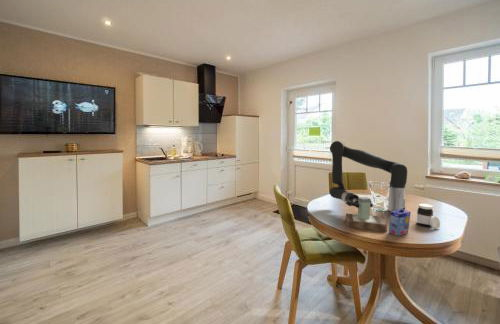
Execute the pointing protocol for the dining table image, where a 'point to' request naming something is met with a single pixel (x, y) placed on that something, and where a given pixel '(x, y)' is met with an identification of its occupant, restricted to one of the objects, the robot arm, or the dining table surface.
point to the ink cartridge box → (399, 222)
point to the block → (364, 208)
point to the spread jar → (427, 216)
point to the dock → (366, 223)
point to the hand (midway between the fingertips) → (365, 205)
